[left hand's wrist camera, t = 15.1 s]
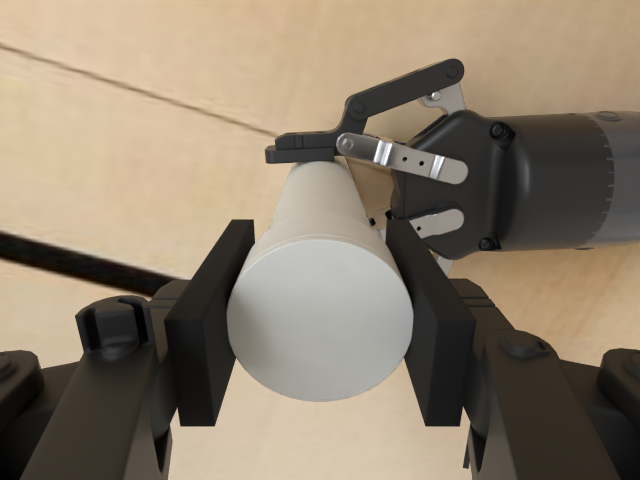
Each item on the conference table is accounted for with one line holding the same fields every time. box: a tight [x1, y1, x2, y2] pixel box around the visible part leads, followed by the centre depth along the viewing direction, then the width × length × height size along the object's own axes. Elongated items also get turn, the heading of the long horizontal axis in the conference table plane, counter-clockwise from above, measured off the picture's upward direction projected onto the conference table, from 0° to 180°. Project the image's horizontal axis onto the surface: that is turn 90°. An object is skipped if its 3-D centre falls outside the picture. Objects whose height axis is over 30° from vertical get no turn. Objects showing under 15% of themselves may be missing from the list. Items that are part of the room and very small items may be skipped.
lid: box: [226, 212, 414, 402], centre depth 11 cm, size 5×5×2 cm
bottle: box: [268, 156, 372, 230], centre depth 20 cm, size 4×4×20 cm
